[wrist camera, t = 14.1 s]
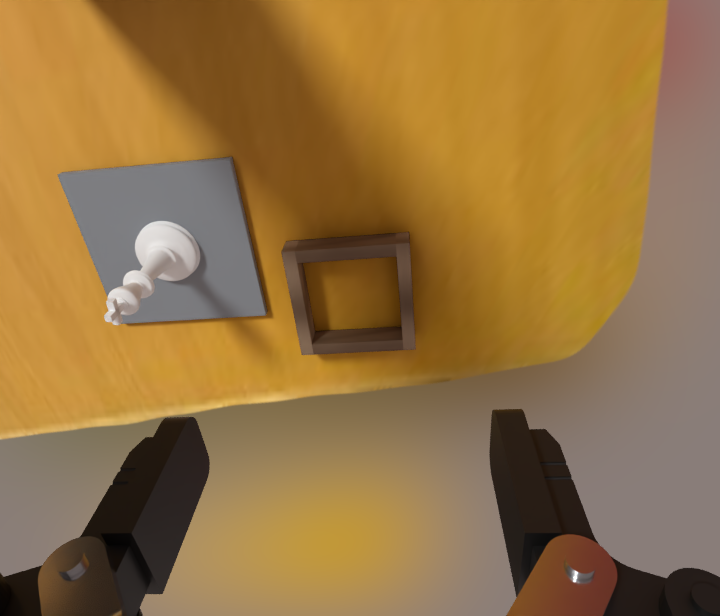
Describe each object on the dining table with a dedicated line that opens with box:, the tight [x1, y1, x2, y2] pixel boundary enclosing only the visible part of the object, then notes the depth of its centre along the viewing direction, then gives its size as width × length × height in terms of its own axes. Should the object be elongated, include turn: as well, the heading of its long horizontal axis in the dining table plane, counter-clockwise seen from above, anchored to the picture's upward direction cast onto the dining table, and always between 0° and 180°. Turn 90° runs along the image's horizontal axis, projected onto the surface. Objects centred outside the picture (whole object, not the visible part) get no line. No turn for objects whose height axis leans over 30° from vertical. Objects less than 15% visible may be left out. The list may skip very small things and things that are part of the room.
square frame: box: [282, 232, 416, 355], centre depth 41 cm, size 10×10×2 cm
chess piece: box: [104, 221, 200, 325], centre depth 36 cm, size 5×5×10 cm
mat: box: [58, 157, 267, 324], centre depth 40 cm, size 13×13×1 cm
